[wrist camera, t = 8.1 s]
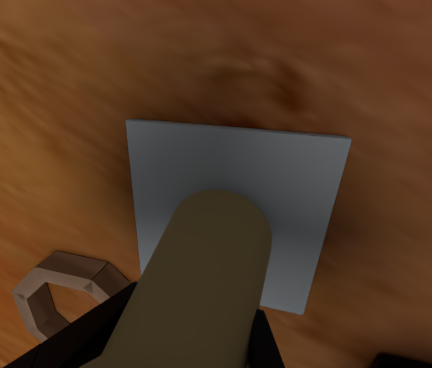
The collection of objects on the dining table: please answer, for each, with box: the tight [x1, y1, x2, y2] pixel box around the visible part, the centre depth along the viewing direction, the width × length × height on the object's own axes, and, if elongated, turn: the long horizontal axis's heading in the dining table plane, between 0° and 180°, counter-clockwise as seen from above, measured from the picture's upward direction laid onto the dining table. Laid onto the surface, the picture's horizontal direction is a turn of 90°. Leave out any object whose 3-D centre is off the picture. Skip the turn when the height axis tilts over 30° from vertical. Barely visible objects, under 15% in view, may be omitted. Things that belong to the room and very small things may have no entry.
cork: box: [79, 189, 272, 368], centre depth 8 cm, size 6×6×11 cm
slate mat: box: [125, 119, 352, 315], centre depth 15 cm, size 12×12×1 cm
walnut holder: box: [12, 251, 131, 343], centre depth 21 cm, size 12×12×2 cm
